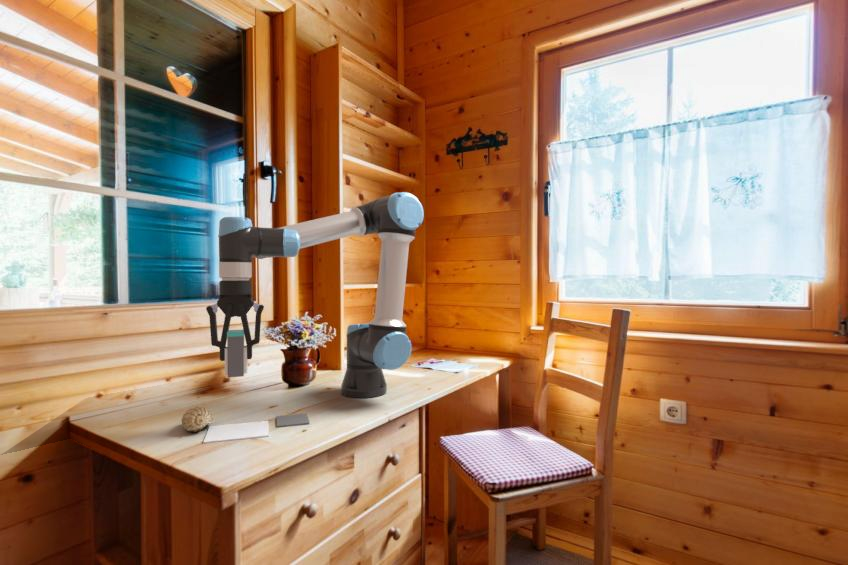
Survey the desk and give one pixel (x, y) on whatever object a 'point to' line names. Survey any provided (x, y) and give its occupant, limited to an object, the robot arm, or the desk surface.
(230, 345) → the marker
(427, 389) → the desk surface
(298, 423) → the coaster
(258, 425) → the paper
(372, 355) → the robot arm
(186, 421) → the seashell
